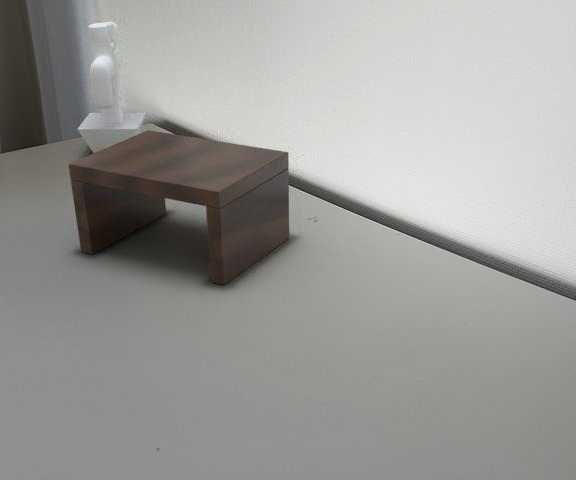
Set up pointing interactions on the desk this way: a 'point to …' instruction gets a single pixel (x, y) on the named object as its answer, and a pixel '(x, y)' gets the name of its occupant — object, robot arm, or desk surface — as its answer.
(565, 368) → the desk surface
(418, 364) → the desk surface
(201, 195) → the shelf
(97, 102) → the figurine
